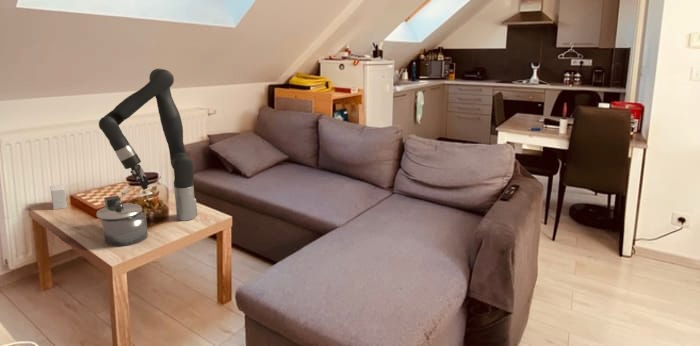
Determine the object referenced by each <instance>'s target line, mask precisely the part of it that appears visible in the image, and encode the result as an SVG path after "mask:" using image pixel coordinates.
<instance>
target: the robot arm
mask: <svg viewBox="0 0 700 346" xmlns="http://www.w3.org/2000/svg"><path fill="white" fill-rule="evenodd" d="M148 80H149V81H148V82H147V83H146V84H145V85H144V86H143V87H141V88H140V89H138V90H137V91H135V92H133V93H132V94H131V95H128V96H127V97H126V98H124V99H123V100H122V101H120V103H118V104H117V105H115V107H114V108H113V109H112V110H111V111H110V112H108V113H106V114H105V115H104V116H103V117H101V118H100V119H99V121H98V127H99V130H101V131H102V132H103V134H104V135H105V137H106V138H107V140H108V141H109V145H110V146H111V148H112V149H113V151H114V153H115V154H116V155H115V156H117V158H118V160H119V161H120V163H121V164H122V166H123V168H124V169H125V170H128V169H130V174H131V175H132V176H133V179H134V180H135V181H136V183H138V184H139V185H140V188H142V190H145V189H148V188H149V186H150V181H149V179H148V178H147V174H146V172H145V171H144V169H143V168H142V166H141V165H140V164H141V162H142V161H141V158H140V157H139V156H138V153H136V151H135V149H134V147H133V146H132V145H131V144H130V142H129V141H128V139H127V137H126V136H125V135H124V133H123V132H122V129H121V127H120V125H121V124H122V123H123V122H124V121H125V120H127V119H128V118H130V117H132V115H134V114H135V113H136V112H137V111H139V110H140V109H141V108H142V107H143V106H144V105H146V104H147V103H148V102H150V100H152V99H153V98H155V99H156V104H157V110H158V114H159V118H160V123H161V127H162V131H163V134H164V137H165V140H166V143H167V146H168V151H169V159H170V165H171V167H172V169H173V176H174V181H173V190H174V198H175V199H174V200H175V202H174V203H175V210H176V219H177V220H178V221H182V222H183V221H185V222H186V221H192V220H193V219H196V217H197V216H198V207H197V204H198V203H197V198H195V188H194V180H195V174H194V163H193V161H192V159H191V157H189V156H188V154H187V151H186V147H185V143H184V126H183V121H182V118H181V114H180V112H179V109H178V107H177V106H176V103H175V101H174V98H173V97H172V92H171V91H172V90H171V87H172V86H173V84H174V81H175V79H174V75H173V74H172V72H171V71H169V70H167V69H163V68H155V69H153V70H152V71H151V72H150V74H149V79H148ZM145 191H146V190H145Z"/></svg>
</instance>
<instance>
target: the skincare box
mask: <svg viewBox="0 0 700 346" xmlns="http://www.w3.org/2000/svg"><path fill="white" fill-rule="evenodd" d="M49 190H50V193H51V202H52V209H53V210H61V209H66V208H68V204H67V196H66V190H65V186H64V184H58V185H57V184H56V185H50V186H49Z"/></svg>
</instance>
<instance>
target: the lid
mask: <svg viewBox="0 0 700 346" xmlns="http://www.w3.org/2000/svg"><path fill="white" fill-rule="evenodd" d="M103 200H104V207H101V208H100V209H98V210H97V212H96V217H97V218H98V219H99V220H101V221H102V220H122V219H127V218H131V217H134V216H136V215H138V214H140V213H141V212H143V207H142V206H141V205H140V204H133V203H124V202H123V203H122V202H121V201H122V200H121V197H120V196H119V195H113V196H107V197H104V198H103Z"/></svg>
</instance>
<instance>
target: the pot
mask: <svg viewBox="0 0 700 346" xmlns="http://www.w3.org/2000/svg"><path fill="white" fill-rule="evenodd" d="M101 223H102V232H103V238H104V243H105V244H106V245H107V246H111V247H127V246H132V245H136V244H139V243H141V242H143V241H145V240H146V239H147V238H148V237H149V234H148V232H149V231H148V225H147V224H148V223H147V215H146V212H145V213H144V212H143V211H142V212H141V213H140V214H138V215H136V216H134V217H131V218H127V219H122V220H102V219H101Z"/></svg>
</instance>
